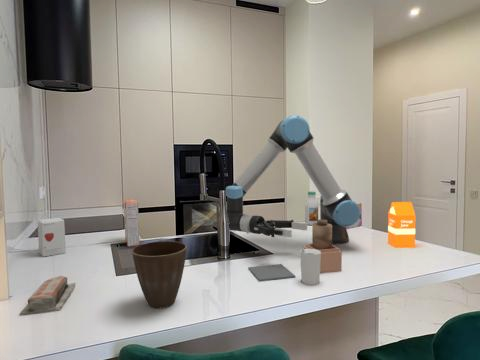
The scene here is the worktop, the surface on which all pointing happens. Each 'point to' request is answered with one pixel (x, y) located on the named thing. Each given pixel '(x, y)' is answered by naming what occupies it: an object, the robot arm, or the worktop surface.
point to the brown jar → (321, 235)
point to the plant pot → (160, 271)
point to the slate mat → (271, 272)
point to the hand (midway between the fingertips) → (299, 230)
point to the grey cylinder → (310, 266)
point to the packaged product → (49, 296)
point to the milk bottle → (311, 209)
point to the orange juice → (401, 225)
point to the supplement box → (51, 236)
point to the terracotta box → (329, 259)
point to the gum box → (359, 222)
